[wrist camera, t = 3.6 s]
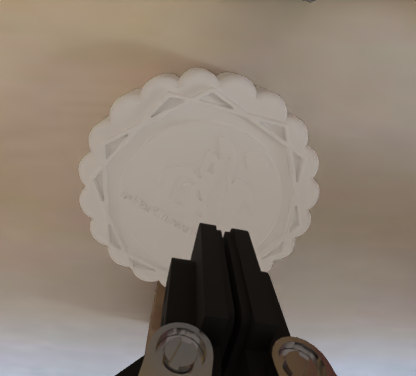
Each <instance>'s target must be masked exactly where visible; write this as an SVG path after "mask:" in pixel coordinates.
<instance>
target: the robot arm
mask: <svg viewBox="0 0 416 376" xmlns="http://www.w3.org/2000/svg"><path fill="white" fill-rule="evenodd" d="M115 376H337V375H336V374H335V372H334V370H333V369H332V367H331V365H330V363H329V362H328V360H327V359H326V358H325V356H324V355H323V354H322V353H321V352H320V351H319V350H318V349H317V348H316V347H315V346H313V345H312V344H310V343H309V342H307V341H305V340H303V339H300V338H298V337H291V336H290V333H289V331H288V328H287V325H286V322H285V319H284V316H283V313H282V311H281V308H280V305H279V302H278V299H277V296H276V293H275V291H274V288H273V285H272V282H271V279H270V276H269V274H268V273H267V272H263V271H261V269H260V266H259V263H258V260H257V257H256V254H255V250H254V247H253V244H252V241H251V238H250V235H249V232H248V231H246V230H240V229H234V228H232V229H231V230H230V232H227V231H225V233H224V236H223V237H222V231H221V230H217V228H216V225H211V224H205V223H200V224H199V227H198V230H197V235H196V239H195V243H194V247H193V251H192V255H191V260H185V259H179V258H173V257H172V259H171V263H170V267H169V272H168V277H167V282H166V288H165V294H164V301H163V308H162V316H161V324H160V328H159V329H158V330H157V331H156V332H155V333H154V334H153V336H152V338H151V340H150V342H149V345H148V348H147V351H146V354H145V355H144V356H143V357H141V358H140V359H138V360H137V361H135V362H134V363H133V364H131V365H130V366H128V367H127V368H125V369H124V370H123V371H121V372H120V373H118V374H117V375H115Z"/></svg>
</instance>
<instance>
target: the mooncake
mask: <svg viewBox="0 0 416 376" xmlns="http://www.w3.org/2000/svg"><path fill="white" fill-rule="evenodd" d="M307 141H308V131H307V128H306V126H305V124H304V123H303V122H302V121H301V120H300V119H298V118H297V117H295V116H293V115H291V114H289V113H288V112H287V108H286V104H285V102H284V101H283V99H282V98H281V97H280V96H279V95H277V94H276V93H274V92H271V91H269V90H266V89H264V88H261V87H257V86H254V85H253V83H252V82H251V81H250V80H249V79H248V78H246V77H244V76H242V75H239V74H236V73H232V72H224V73H221V74H219V75H217V76H215V75H214V74H213V73H211V72H210V71H208V70H206V69H204V68H199V67H196V68H191V69H189V70H187V71H185V72H184V73H183V74H182V75H181V77H178V76H176V75H174V74H170V73H163V74H160V75H158V76H156V77H154V78H152V79H150V80H149V81H147V82H146V84H145V85H144V86H143V88H142V89H135V90H132V91H130V92H128V93H126V94H125V95H123V96H121V97H119V98H118V99H117V100H116V101H115V102H114V103H113V105H112V107H111V109H110V115H109V116H108V117H106V118H105V119H104V120H102V121H101V122H99V123H98V124H96V125H95V126H94V127H93V129H92V130H91V132H90V134H89V140H88V143H89V148H90V150H91V151H89V152H88V153H87V154H86V155H85V156H84V157H83V158H82V160H81V161H80V163H79V168H78V172H79V177H80V179H81V181H82V182H83V184H84V185H85V187H84V188H83V190H82V191H81V193H80V197H79V202H80V206H81V208H82V210H83V212H84V213H85V214H86V215H87V216H89V217H90V218H92V220H91V222H90V231H91V234H92V236H93V237H94V239H95V240H96V241H98V242H99V243H101V244H103V245H106V246H108V253H109V256H110V258H111V259H112V260H113V261H114V262H115V263H116V264H118V265H121V266H124V267H130V269H131V270H132V271H133V273H134V274H135V276H136V277H138V278H139V279H141V280H143V281H147V282H154V281H158V280H159V281H160V283H161V284H162V285H163V286H164V287H166V282H167V277H168V272H169V267H170V263H171V259H172V257H173V258H179V259H185V260H191V255H192V251H193V247H194V243H195V239H196V235H197V230H198V227H199V224H200V223H205V224H211V225H216V228H217V230H221V231H222V237H223V236H224V233H225V231H227V232H230V230H231V229H232V228H234V229H240V230H246V231H248V232H249V235H250V238H251V241H252V244H253V247H254V250H255V254H256V257H257V260H258V263H259V266H260V269H261V271H263V272H268V271H269V270H270V269H271V267H272V265H273V262H274V260H279V259H282V258H285V257H286V256H288V255H289V254H290V253H291V252H292V251H293V249H294V246H295V237H298V236H300V235H302V234H303V233H305V232H306V230H307V229H308V228H309V226H310V223H311V214H310V212H309V209H311V208H312V207H313V206H314V205H315V204H316V202H317V200H318V198H319V193H320V190H319V186H318V184H317V182H316V181H315V180H314V179H313V178H314V176H315V175H316V173H317V171H318V168H319V159H318V156H317V154H316V152H315V151H314V150H313V149H312V148H310V147H309V146H308V145H306V144H307Z"/></svg>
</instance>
